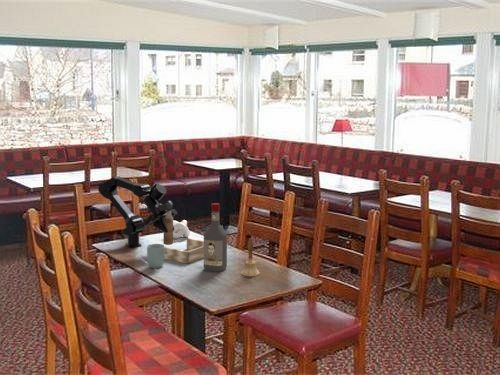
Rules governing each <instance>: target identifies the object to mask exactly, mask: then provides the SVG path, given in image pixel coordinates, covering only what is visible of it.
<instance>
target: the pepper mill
mask: <svg viewBox="0 0 500 375" xmlns="http://www.w3.org/2000/svg"><path fill="white" fill-rule="evenodd" d="M170 210H171V209H168V210H167V211H166V213H165V214H166V215H165V217H164V219H163V224H164V225H165V227H166V229H167V231H168V232H167V233H166V232H164V231H163V244H162V245H164V246H172V245H173V244H174V238H173V220H174V217H172V215H171V214H172V213H171V211H170Z"/></svg>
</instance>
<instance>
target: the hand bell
mask: <svg viewBox="0 0 500 375" xmlns="http://www.w3.org/2000/svg"><path fill="white" fill-rule="evenodd" d="M247 250H248V260H246V261H245V264H244V268H243V270H242V271H241V272H240V274H241V275H242V276H244V277H258V276H259V275H261V273H260V271H259V270H258V268H257V262H256V261H255V260H253V251H254V242H253V238H250V237H249V238H248V242H247Z"/></svg>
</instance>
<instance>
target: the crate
mask: <svg viewBox="0 0 500 375" xmlns="http://www.w3.org/2000/svg"><path fill="white" fill-rule="evenodd" d="M164 248H165V257H164V260H170V261H174V262H179V263H183V264H184V263H185V264H188V265H189V264H192V263H194V262H196V261H199V260H203V259H204V240H200V239H195V238H190V237H186V249H183V250H181V249H179V248H178V249H177V248H172V247H168V246H164Z"/></svg>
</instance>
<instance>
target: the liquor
mask: <svg viewBox="0 0 500 375" xmlns="http://www.w3.org/2000/svg"><path fill="white" fill-rule="evenodd" d="M210 206H211V207H210V208H211V223H210V225H209V227H208V228H207V229H206V230H205V232H204V234H203V241H204V258H203V268H204V270H205V271H206V272H212V273H213V272H214V273H221V272H223V271H225V270H226V269H227V267H228V266H227V265H228V260H227V259H228V233H227V231H226V230H225V229H224V227H223V226H222V225H221V223H220V210H221V208H220V207H221V205H220V203H218V202H214V203H213V202H211V205H210Z"/></svg>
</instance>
